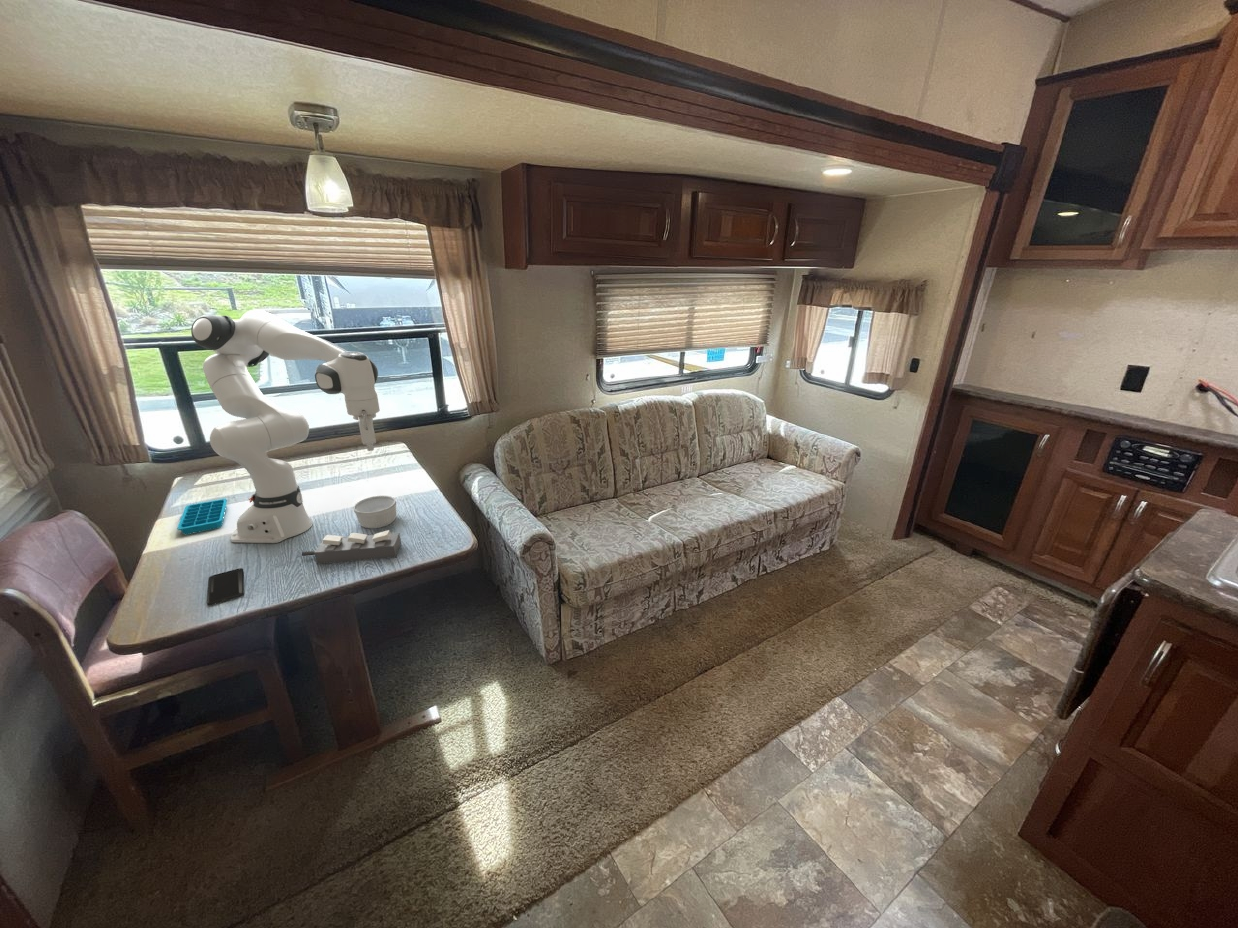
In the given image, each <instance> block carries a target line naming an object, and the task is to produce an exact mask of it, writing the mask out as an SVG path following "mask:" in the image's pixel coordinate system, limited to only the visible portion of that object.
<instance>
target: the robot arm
mask: <svg viewBox="0 0 1238 928" xmlns="http://www.w3.org/2000/svg"><path fill="white" fill-rule="evenodd" d="M190 331H191V332H190V334H191V338H192V340H193V341H194V342H195V343H196V344H197V345H198V346H200V347H202V348H204V349H206V350H208V351H213V352H214V354H211V355H210V356H208V357H207V358H206V359H204V361H203V363H202V369H203V373H204V375H205V379H206V381H207V383H208V385H209V388H210V389H211V390H212V393H213V395H214V397H216V400H217V401H218V403H219V404H220V406H221V408H222V410H223V411H225V412H226V413H227V414H229V415H231V416H233V417H237V418H242V419H239V420H238V419H237V420H233V421H230V422H227V423H223V424H221V425H219V426H217V427H214V428H213V429H212V431H211V432H210V435H209V444H210V446H211V449H212V450H213V451H214V452H215V453H216V455H218V456H220V457H222V458H224V459H227V460H230V461H233V462H235V463H237V464H238V465H240V466H242V467H243V468H244V469H245V470H246V472H247V473H248V474H249V476H250V478H251V480H252V483H253V486H254V489H255V493H253V494H252V495H251V497H250V498H249V499H248V500H249V503H252V502H253V504H252V505H251V506H249V507H248V508H247V509H246V510H245V511H244V512H242V514H241V515H240V516H239V517H238V519H237V521H236V529H235V530H234V531H233V532H232V533H231V535H230V538H229V539H230V542H231V543H249V544H250V543H253V544H254V543H255V544H277V543H280V542H283V541H285V540H286V539H288V538H292V537H295V536H298V535H300V534H302V533H304V532H307V531H308V530H309V529H310V528H311V527H312V526H313V521H312V519H311V518H310V516H309V514H308V513H307V510H306V509H305V506H304V503H303V502H304V501H303V496H302V492H301V489H300V486H299V485H298V483H297V479H296V475H295V471H294V468H293V466H292V465H291V464H290V463H289V462H287V461H285V460H282V459H278V458H271V457H269V456H268V452H270V451H275V450H278V449H283V448H286V447H291V446H292V447H293V446H294V445H297V444H298V443H301V442H303V441H305V440H307V438H308V436H309V434H310V425H309V422H308V420H307V419H306V418H305V417H304V415H302V414H300V413H299V412H296V411H292V410H289V409H286V408H283V407H281V406H279V405H277V404H275V403H274V402H272V401H270V399H268V398H267V397H266V396H265V395H264V394H263V392H262V391H261V390H260V388H259V387H258V385H257V384H256V382H255V380H254V379H253V377H252V375H251V374H250V373H249V371H248V368H253V367H256V366H258V364H259V363H261V362H263V361H265V360H266V359H267V358H268V357H269V356H272V357H275V358H278V359H281V360H284V361H298V360H300V361H301V360H303V361H304V360H314V361H315V360H317V361H323V362H324V363H320V364H319V365H317V367H316V369H315V371H314V378H315V380H314V381H315V384H316V385H317V387H318V388H319V390H321V391H322V392H324V393H325V394H328V395H338V394H343V395H344V401H345V407H346V412H347V414H348V415H349V416H352V419H354V420H356V421H358V427H359V433H360V438H361V443H362V445H364V446H365V445H366V448H367V451H368V452H371V451H374V450H375V447H374V445H375V444H376V443H377V439H376V438H377V437H376V433H375V428H374V421H373V419H375V418H376V417H377V414H378V413H379V412H380V409H381V408H380V403H379V398H378V394H377V392H376V388H375V384H376V382H377V381H378V377H379V371H378V368H377V366H376V364H375V363H374V361H372V360H371V359H370V358H369V357H368V355H366V354H365V353H363V352H360V351H352V350H351V351H348V350H346V349H344V348H343V347H340V346H339V345H337V344H334V343H333V342H331V341H328V340H326V339H324V338H322V337H320V336H319V337H318V336H317V335H314V334H311V333H309V332H306V331H304V330H301V329H299V328H298V327H296V326H293V325H291V324H290V323H288V322H286V320H283V319H282V318H280V317H278V316H276V315H273V313H269V312H267V311H264V310H261V309H251V310H248V311H247V312H245V313H244V314H243V315H242V316H241V317H240V318H239V319H233V318H231V316H229V315H217V314H215V315H214V314H204V315H201V316H199V317H197V318H196V319H195V320H194V321H193V323H192V325H191V329H190Z"/></svg>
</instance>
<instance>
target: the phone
mask: <svg viewBox="0 0 1238 928" xmlns="http://www.w3.org/2000/svg"><path fill="white" fill-rule="evenodd" d="M244 573H245V571H244V569H243V568H242V567H239V568H236V569H235V568H234V569H231V570H227V571H224V572H220V573H216V574H214V575H211V576H209V577H208V581H207V593H206V604H207V606H210V607H211V606H215V605H218V604H223V603H225V602H229V601H233V600H236V599H239V598H242V597H244V596H245V575H244Z"/></svg>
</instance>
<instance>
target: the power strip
mask: <svg viewBox="0 0 1238 928" xmlns="http://www.w3.org/2000/svg"><path fill="white" fill-rule="evenodd" d="M366 535H367V539H366V541H365V543H364V544H363V543H355V542H348V538H349V536H342V541H341V543H340V544H339V545H330V544H323V539H322V540H321V542H320V543H319V545H318V546H317V547H316V549H315V550H311V551H310V550H309V551H302V552H301V557H305V556H307V557H309V556H314V558H315V562H316V565H321V564H334V563H345V562H357V561H367V560H368V561H369V560H370V561H371V560H380V559H382V560H383V559H393V558H396V557H397V555H398V552H399V551H400V548H401V545H402V541H401V534H400V533H399V532H395V533H394V532H393V533H391V535H390V537H389V539H386V540H382V541H378V542H375V543H374V541H373V537H374V535H375V534H369V535H368V534H366Z"/></svg>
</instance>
